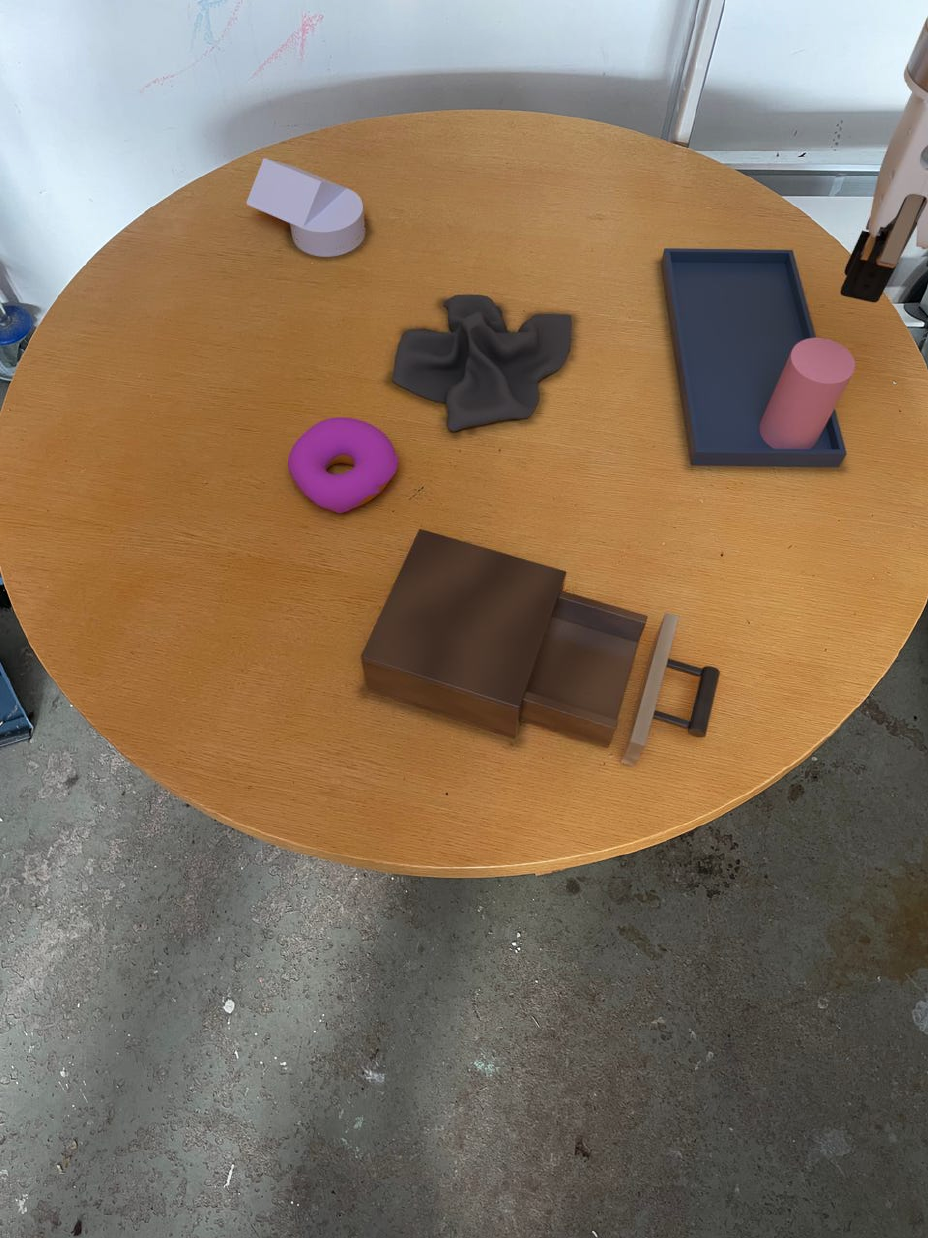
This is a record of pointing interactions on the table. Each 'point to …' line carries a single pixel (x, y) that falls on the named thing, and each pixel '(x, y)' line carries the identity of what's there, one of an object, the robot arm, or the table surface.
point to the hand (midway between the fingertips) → (860, 285)
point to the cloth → (482, 361)
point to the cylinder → (806, 393)
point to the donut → (342, 445)
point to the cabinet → (462, 631)
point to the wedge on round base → (310, 208)
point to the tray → (738, 352)
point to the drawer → (606, 676)
